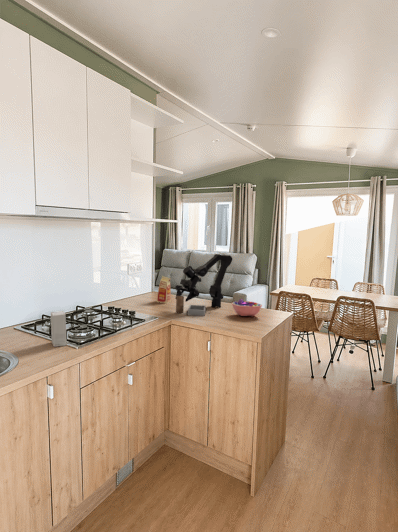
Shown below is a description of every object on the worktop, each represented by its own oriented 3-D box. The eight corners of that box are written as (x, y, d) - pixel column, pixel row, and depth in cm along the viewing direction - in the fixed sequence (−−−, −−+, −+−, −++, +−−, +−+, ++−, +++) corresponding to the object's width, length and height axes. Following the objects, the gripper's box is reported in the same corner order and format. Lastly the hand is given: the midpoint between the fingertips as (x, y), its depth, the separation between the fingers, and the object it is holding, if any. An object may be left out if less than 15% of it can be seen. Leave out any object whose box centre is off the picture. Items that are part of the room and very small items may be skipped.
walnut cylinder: (183, 311, 231) (184, 295, 229) (182, 313, 226) (183, 297, 224) (176, 311, 231) (176, 295, 230) (175, 313, 226) (175, 297, 225)
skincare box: (66, 345, 157) (66, 314, 156) (52, 347, 155) (52, 315, 153) (64, 340, 165) (64, 310, 163) (50, 341, 162) (50, 311, 160)
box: (205, 310, 237) (205, 305, 236) (204, 315, 222) (204, 310, 221) (189, 309, 237) (189, 304, 237) (187, 315, 222) (187, 309, 222)
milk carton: (156, 302, 258) (157, 276, 256) (161, 300, 267) (162, 274, 265) (167, 303, 255) (168, 277, 253) (172, 301, 264) (173, 275, 262)
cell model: (261, 320, 215) (262, 302, 214) (229, 317, 219) (230, 300, 218) (261, 314, 232) (262, 298, 231) (232, 311, 236) (233, 295, 235)
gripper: (177, 273, 236) (165, 290, 229) (197, 276, 224) (185, 294, 217) (184, 283, 243) (173, 300, 236) (204, 287, 231) (192, 305, 224)
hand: (180, 300), depth 228 cm, fingers open, 9 cm apart
